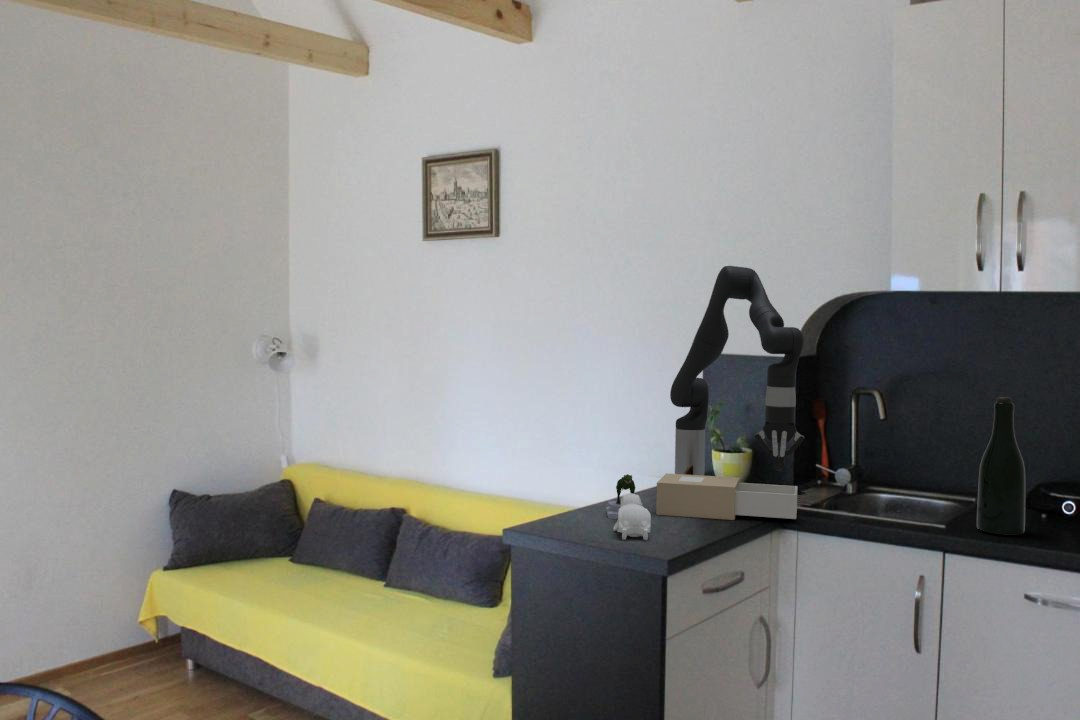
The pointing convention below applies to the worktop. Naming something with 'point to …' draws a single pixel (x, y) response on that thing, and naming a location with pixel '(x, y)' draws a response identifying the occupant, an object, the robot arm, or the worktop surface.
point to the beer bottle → (1002, 477)
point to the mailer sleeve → (697, 496)
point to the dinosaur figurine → (622, 484)
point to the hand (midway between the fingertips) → (778, 470)
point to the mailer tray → (766, 500)
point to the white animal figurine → (633, 518)
